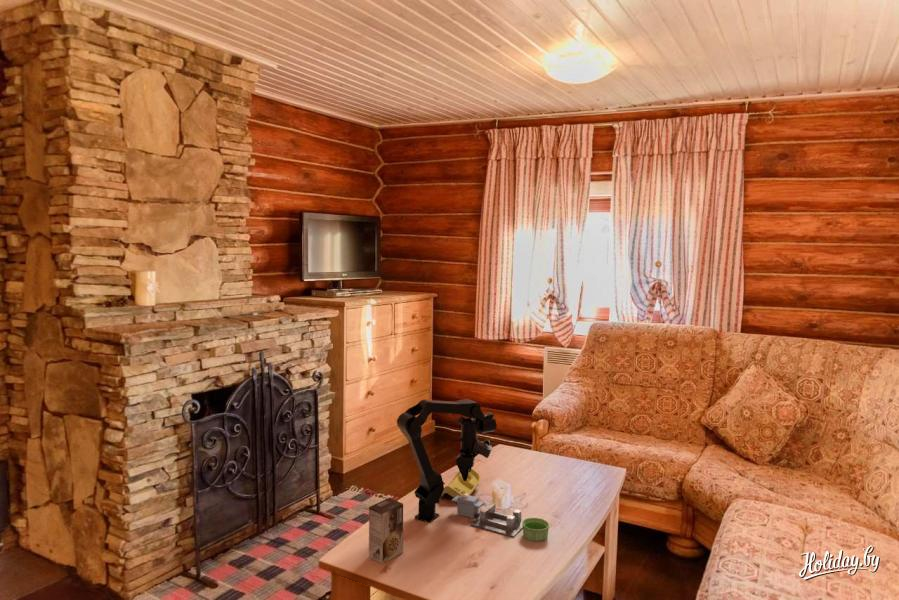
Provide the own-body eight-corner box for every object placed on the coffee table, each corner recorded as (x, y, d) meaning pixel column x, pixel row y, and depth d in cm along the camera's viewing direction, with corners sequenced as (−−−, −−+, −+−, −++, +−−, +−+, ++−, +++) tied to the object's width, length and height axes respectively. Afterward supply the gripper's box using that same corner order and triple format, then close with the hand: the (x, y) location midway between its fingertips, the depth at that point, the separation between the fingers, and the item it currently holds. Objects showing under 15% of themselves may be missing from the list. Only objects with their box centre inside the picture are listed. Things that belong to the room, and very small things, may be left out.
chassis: (513, 537, 202) (513, 524, 202) (470, 525, 210) (470, 512, 210) (529, 521, 214) (530, 508, 214) (488, 510, 222) (488, 498, 222)
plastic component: (466, 498, 227) (444, 483, 229) (458, 513, 229) (436, 498, 232) (483, 476, 245) (462, 462, 248) (476, 490, 247) (455, 476, 250)
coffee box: (388, 546, 195) (389, 497, 193) (403, 553, 191) (404, 502, 189) (367, 557, 188) (368, 506, 186) (382, 564, 184) (383, 512, 182)
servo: (479, 519, 215) (479, 500, 214) (451, 512, 220) (452, 494, 219) (484, 515, 218) (484, 496, 217) (457, 508, 223) (457, 490, 223)
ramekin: (552, 534, 205) (553, 521, 205) (542, 545, 198) (543, 532, 197) (528, 527, 210) (528, 515, 209) (517, 538, 202) (517, 525, 202)
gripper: (488, 444, 212) (486, 488, 213) (493, 429, 230) (491, 469, 231) (456, 441, 214) (454, 485, 215) (464, 426, 232) (462, 466, 233)
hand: (467, 476), depth 223 cm, fingers open, 9 cm apart
